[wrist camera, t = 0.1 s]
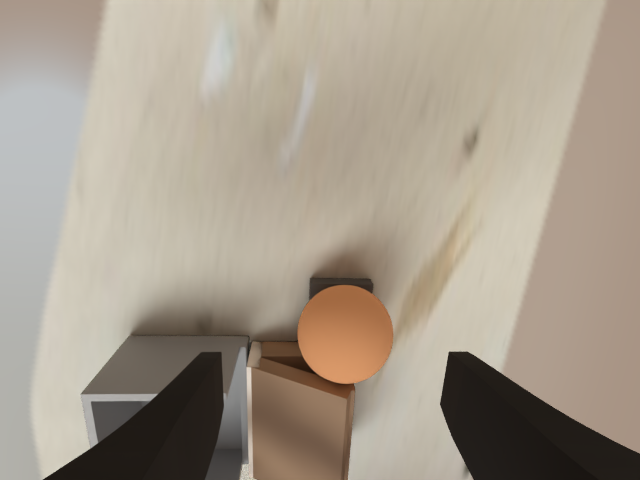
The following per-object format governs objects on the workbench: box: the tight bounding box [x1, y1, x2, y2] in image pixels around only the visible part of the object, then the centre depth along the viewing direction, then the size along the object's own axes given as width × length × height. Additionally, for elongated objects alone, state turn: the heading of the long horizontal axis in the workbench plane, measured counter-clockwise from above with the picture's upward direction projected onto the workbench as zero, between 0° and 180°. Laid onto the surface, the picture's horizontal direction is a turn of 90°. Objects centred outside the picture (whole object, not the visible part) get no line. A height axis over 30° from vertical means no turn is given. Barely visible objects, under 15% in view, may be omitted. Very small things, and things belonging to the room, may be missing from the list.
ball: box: [297, 285, 393, 384], centre depth 19 cm, size 5×5×5 cm
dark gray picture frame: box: [309, 278, 373, 301], centre depth 21 cm, size 4×4×1 cm
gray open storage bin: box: [80, 336, 249, 480], centre depth 20 cm, size 9×7×5 cm
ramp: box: [246, 342, 355, 480], centre depth 21 cm, size 8×6×5 cm
